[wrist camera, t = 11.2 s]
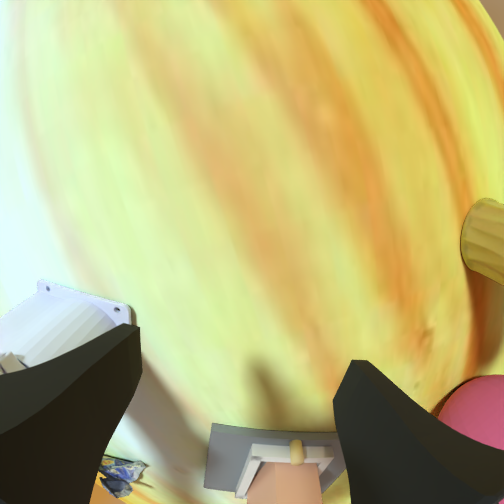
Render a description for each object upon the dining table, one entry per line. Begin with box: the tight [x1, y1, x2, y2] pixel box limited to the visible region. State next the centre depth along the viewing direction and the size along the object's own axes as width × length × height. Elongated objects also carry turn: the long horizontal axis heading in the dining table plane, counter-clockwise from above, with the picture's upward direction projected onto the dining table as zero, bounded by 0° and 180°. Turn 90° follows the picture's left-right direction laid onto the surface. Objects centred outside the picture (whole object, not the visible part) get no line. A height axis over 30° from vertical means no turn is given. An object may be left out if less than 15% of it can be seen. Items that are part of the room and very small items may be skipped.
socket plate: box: [204, 423, 346, 499], centre depth 22 cm, size 16×15×4 cm
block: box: [247, 462, 323, 504], centre depth 20 cm, size 9×4×7 cm, turn 162°
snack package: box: [98, 455, 146, 498], centre depth 25 cm, size 12×7×12 cm
